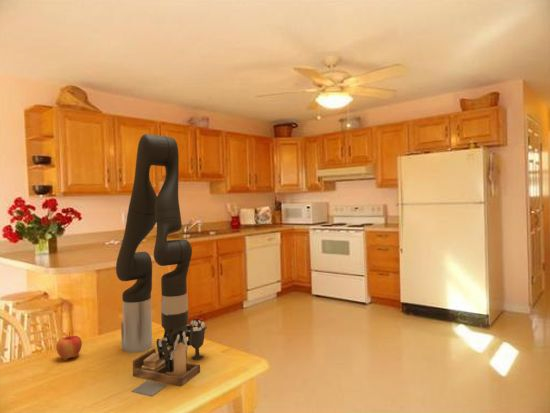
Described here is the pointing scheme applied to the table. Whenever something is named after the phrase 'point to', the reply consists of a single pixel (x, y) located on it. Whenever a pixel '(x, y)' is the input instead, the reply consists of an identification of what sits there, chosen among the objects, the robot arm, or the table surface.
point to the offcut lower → (154, 368)
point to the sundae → (197, 336)
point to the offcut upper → (153, 360)
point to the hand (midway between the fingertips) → (176, 366)
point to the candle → (179, 360)
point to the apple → (69, 347)
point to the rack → (163, 371)
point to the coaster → (149, 388)
